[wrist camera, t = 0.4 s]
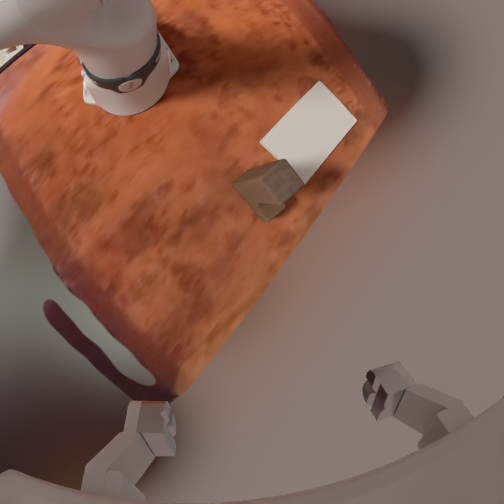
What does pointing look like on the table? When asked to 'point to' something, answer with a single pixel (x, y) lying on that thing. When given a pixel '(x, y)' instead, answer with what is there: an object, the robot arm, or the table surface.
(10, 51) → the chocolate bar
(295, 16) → the table surface
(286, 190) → the wooden block
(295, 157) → the white board
